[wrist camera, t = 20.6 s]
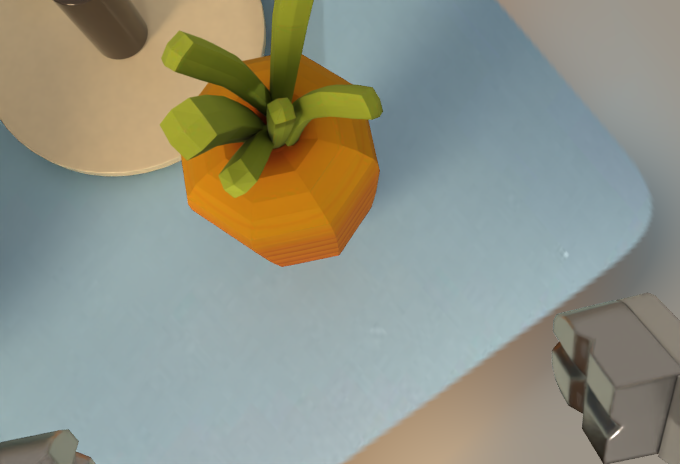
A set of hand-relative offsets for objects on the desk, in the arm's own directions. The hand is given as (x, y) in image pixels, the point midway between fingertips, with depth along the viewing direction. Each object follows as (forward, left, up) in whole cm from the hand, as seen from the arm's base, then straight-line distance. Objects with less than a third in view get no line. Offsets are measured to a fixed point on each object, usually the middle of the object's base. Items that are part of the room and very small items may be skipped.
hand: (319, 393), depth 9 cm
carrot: (-1, -5, -13) cm, 14 cm away
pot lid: (+4, -16, -12) cm, 21 cm away
